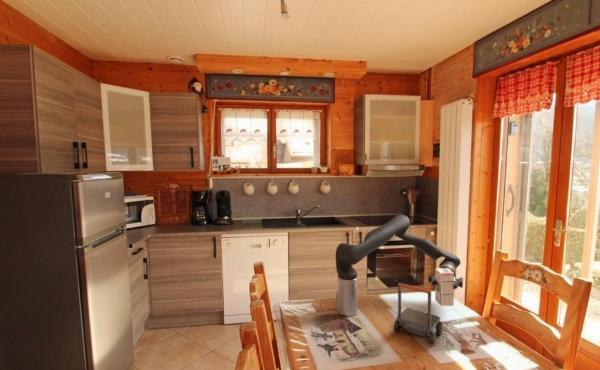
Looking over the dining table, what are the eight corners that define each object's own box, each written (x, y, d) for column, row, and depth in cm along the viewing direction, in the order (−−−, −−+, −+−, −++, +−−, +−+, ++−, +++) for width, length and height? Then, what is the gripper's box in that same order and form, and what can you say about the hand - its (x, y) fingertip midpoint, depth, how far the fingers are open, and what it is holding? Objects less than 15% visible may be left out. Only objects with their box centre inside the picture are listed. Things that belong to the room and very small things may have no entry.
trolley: (393, 333, 124) (393, 283, 123) (407, 320, 136) (407, 274, 135) (431, 347, 114) (432, 293, 113) (443, 331, 126) (443, 282, 125)
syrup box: (454, 306, 126) (454, 272, 125) (440, 306, 126) (440, 272, 125) (447, 300, 132) (448, 268, 131) (434, 300, 132) (434, 268, 131)
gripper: (430, 263, 144) (426, 274, 130) (464, 268, 137) (463, 279, 123) (430, 278, 145) (425, 290, 130) (464, 284, 137) (462, 297, 123)
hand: (444, 285), depth 127 cm, fingers closed on syrup box, 7 cm apart
